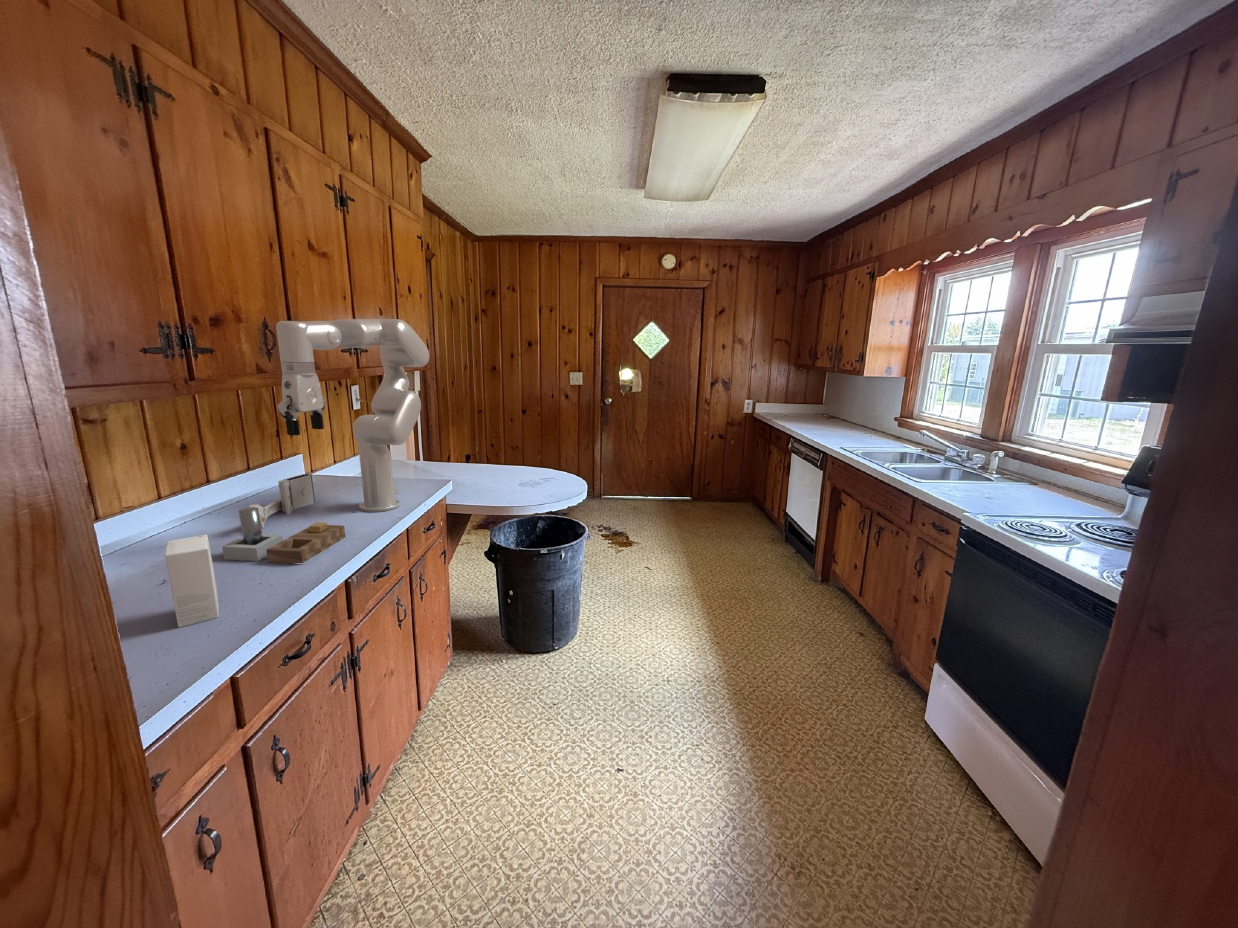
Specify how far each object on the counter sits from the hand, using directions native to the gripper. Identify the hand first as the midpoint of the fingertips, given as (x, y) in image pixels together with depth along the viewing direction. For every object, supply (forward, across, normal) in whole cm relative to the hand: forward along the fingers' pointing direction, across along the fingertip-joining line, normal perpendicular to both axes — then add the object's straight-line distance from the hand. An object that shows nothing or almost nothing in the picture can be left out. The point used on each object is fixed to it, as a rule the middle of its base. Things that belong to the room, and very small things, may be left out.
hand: (306, 431), depth 133 cm
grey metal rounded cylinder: (+30, -14, +8) cm, 34 cm away
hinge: (+31, +21, +22) cm, 43 cm away
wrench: (+31, +11, +23) cm, 40 cm away
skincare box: (+31, -43, -4) cm, 53 cm away
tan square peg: (+30, -5, -4) cm, 31 cm away
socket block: (+30, -10, -4) cm, 32 cm away
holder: (+30, -14, +8) cm, 34 cm away
